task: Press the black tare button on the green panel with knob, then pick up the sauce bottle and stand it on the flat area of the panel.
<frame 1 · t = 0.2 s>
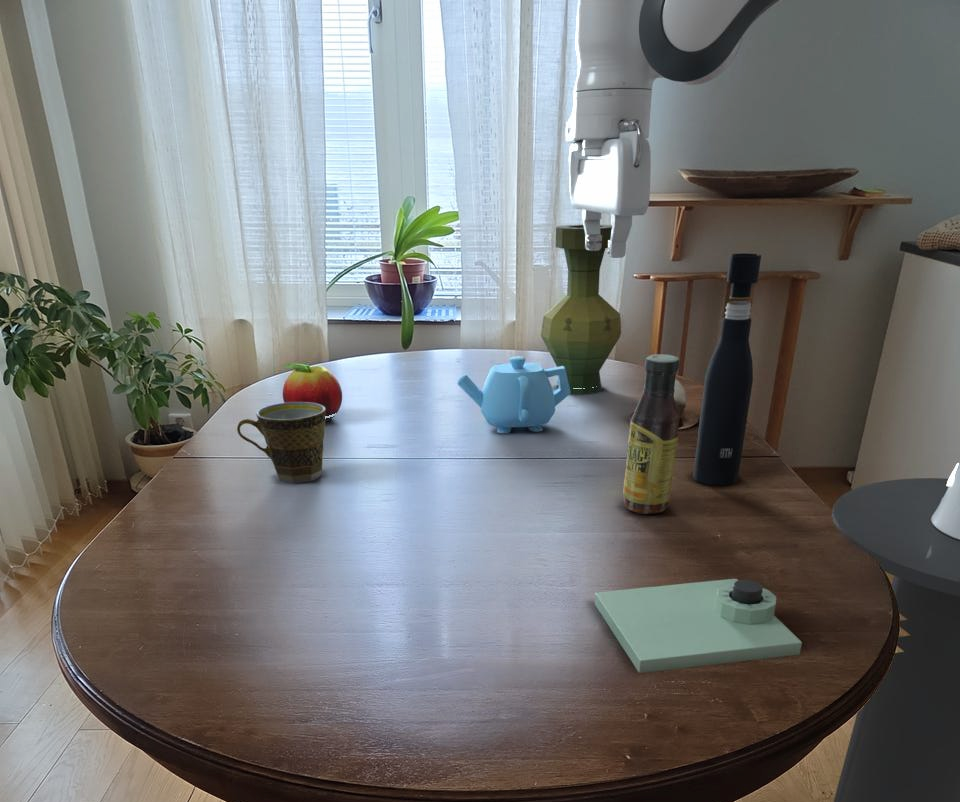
hand: (604, 253, 101), 31 cm above the table, tool pointing down, fingers open, 8 cm apart
sauce bottle: (645, 509, 110), on the table
ceramic cup: (290, 478, 124), on the table
green panel with knob: (690, 628, 82), on the table
vase: (578, 389, 169), on the table
tare button: (747, 592, 81), point 3 cm above the table, slide at 0.1 cm
fruit: (315, 420, 152), on the table
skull: (663, 421, 147), on the table
teapot: (513, 427, 146), on the table
navy water bottle: (715, 480, 120), on the table
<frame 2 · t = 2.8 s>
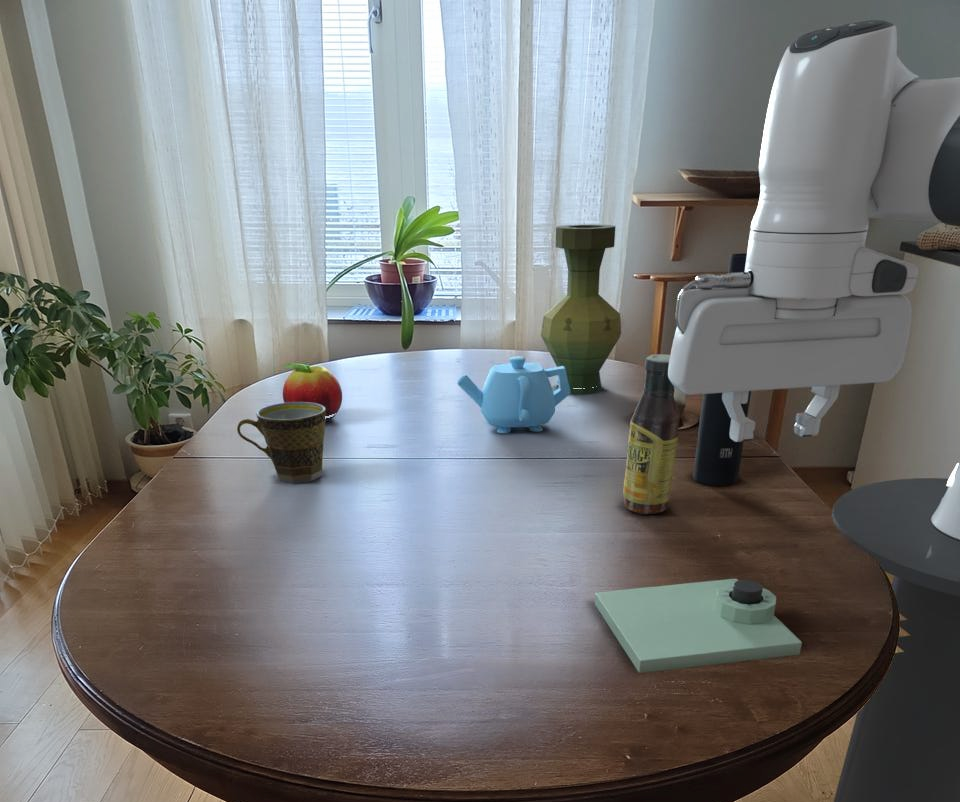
hand: (773, 437, 73), 19 cm above the table, tool pointing down, fingers open, 5 cm apart
nothing on the table moved.
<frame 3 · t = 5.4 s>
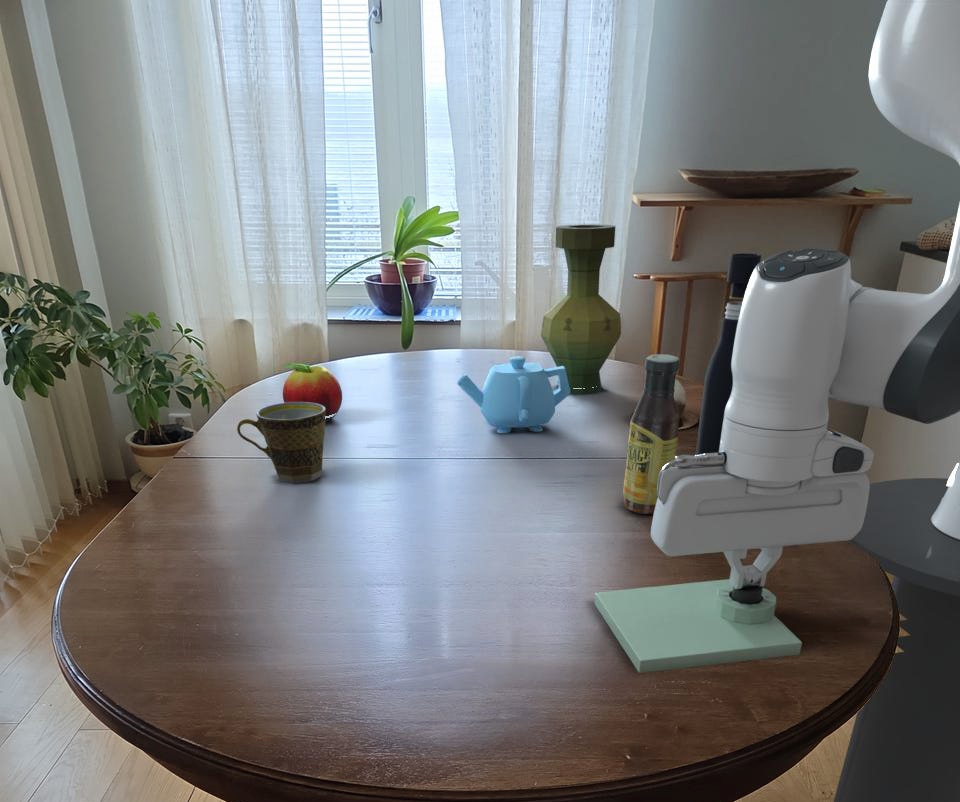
hand: (746, 585, 81), 4 cm above the table, tool pointing down, fingers closed, pressing on tare button
tare button: (746, 592, 81), point 3 cm above the table, slide at 0.1 cm, touching gripper
everything else where it was.
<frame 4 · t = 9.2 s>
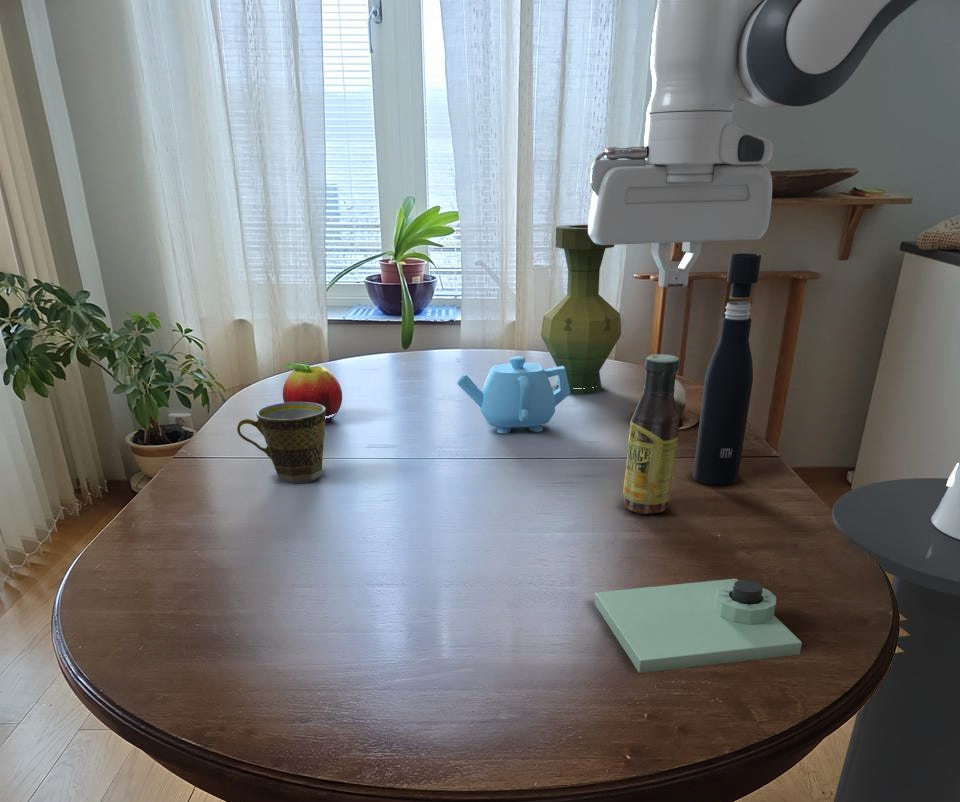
hand: (672, 286, 94), 28 cm above the table, tool pointing down, fingers closed
tare button: (747, 592, 81), point 3 cm above the table, slide at 0.1 cm
everything else where it was.
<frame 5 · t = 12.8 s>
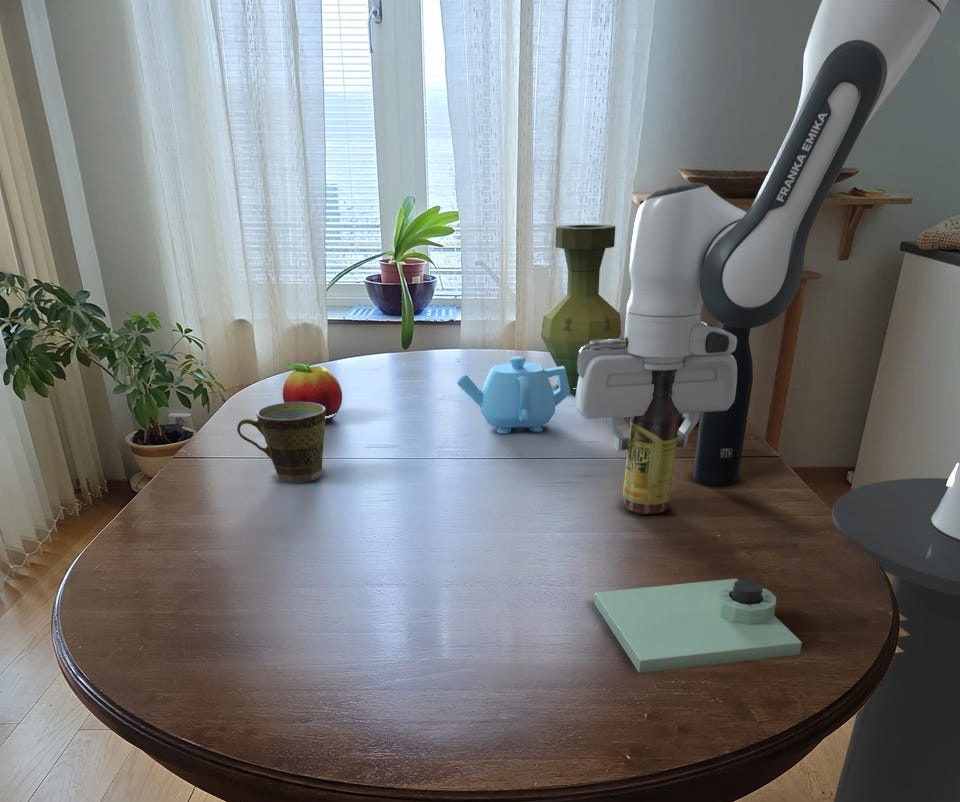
hand: (650, 447, 106), 8 cm above the table, tool pointing down, fingers open, 6 cm apart
sauce bottle: (645, 510, 110), on the table, touching arm, gripper
everything else where it was.
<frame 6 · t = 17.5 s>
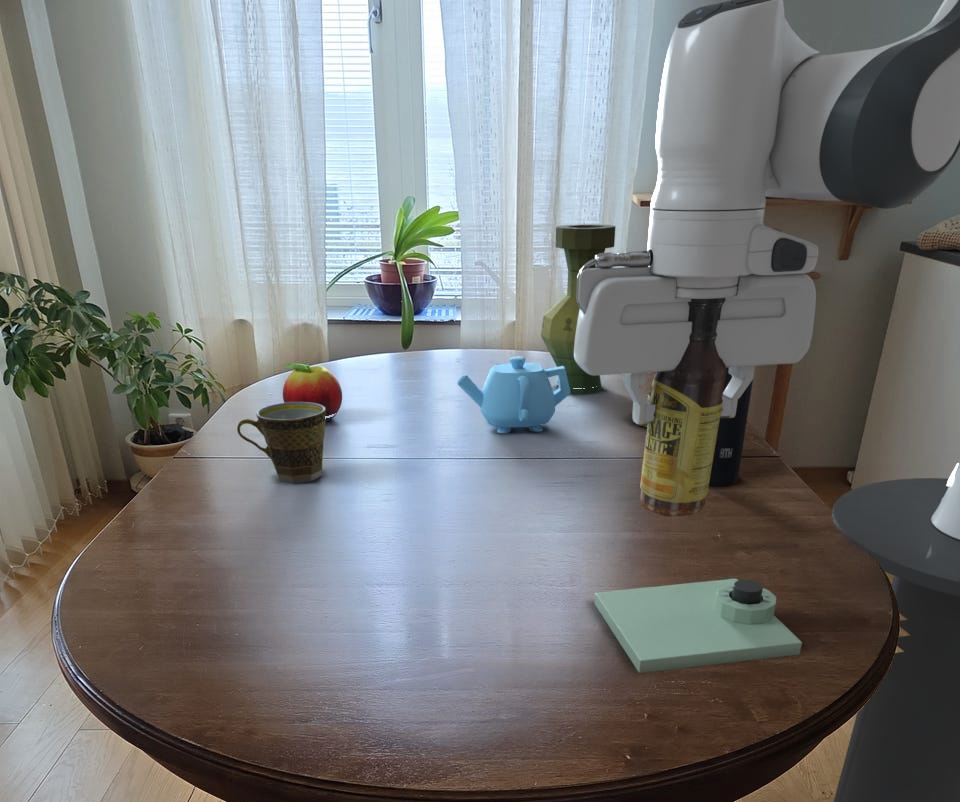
hand: (683, 419, 73), 21 cm above the table, tool pointing down, fingers closed on sauce bottle, 6 cm apart
sauce bottle: (672, 510, 77), point 12 cm above the table, touching arm, gripper
everything else where it was.
when the fingers open (10 cm above the table, at t = 21.3 s): sauce bottle stays where it is, resting on green panel with knob.
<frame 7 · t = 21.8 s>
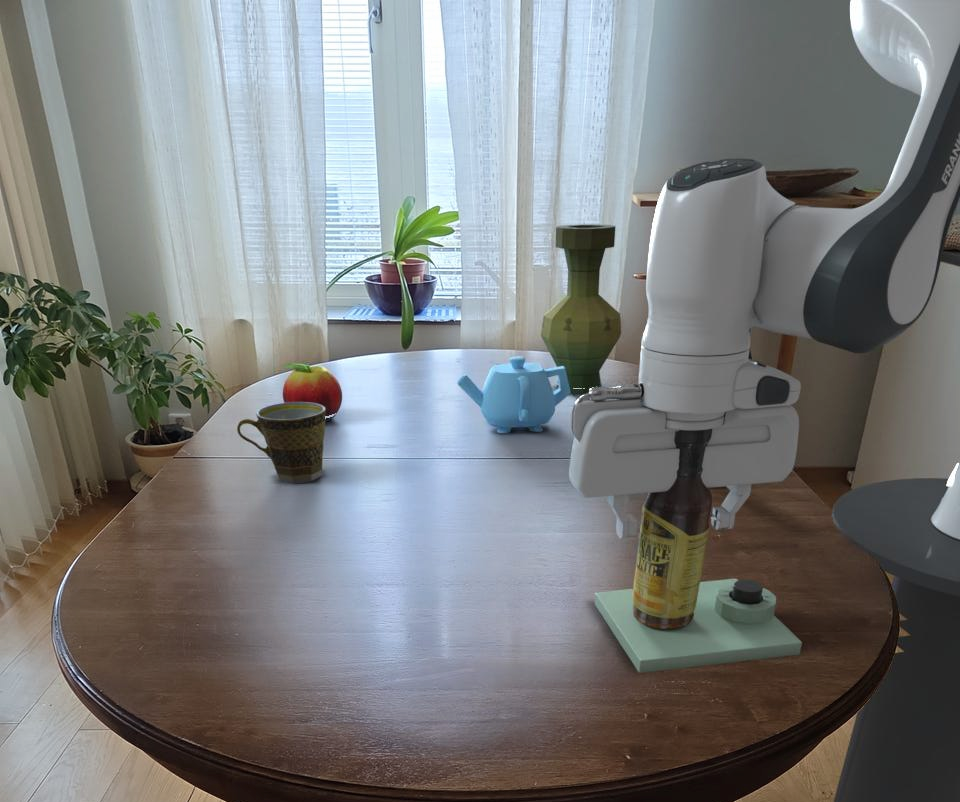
hand: (674, 532, 76), 11 cm above the table, tool pointing down, fingers open, 8 cm apart
sauce bottle: (663, 620, 81), point 1 cm above the table, touching green panel with knob
everything else where it was.
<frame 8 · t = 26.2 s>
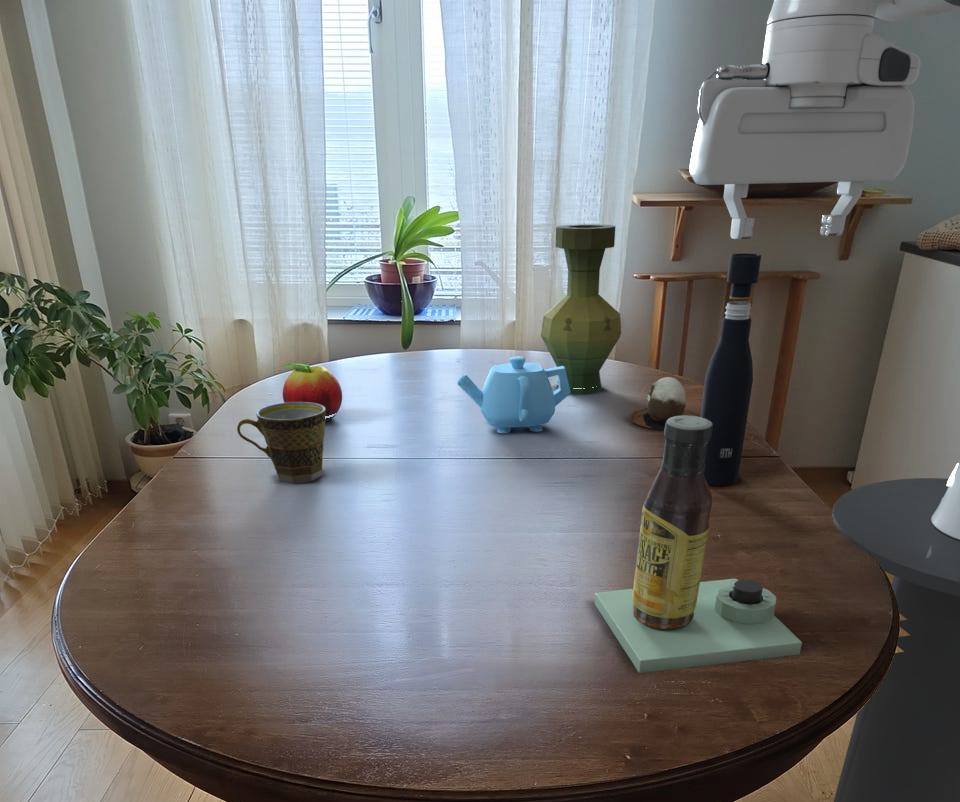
hand: (786, 237, 79), 34 cm above the table, tool pointing down, fingers open, 8 cm apart
nothing on the table moved.
at the end: tare button pushed in 0.9 cm at the most during the clip, back to where it started at the end; sauce bottle inside the target area on the green panel with knob (0.4 cm from its centre), point 1.2 cm above the green panel with knob's base; sauce bottle touching green panel with knob; sauce bottle tilted 0° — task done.
